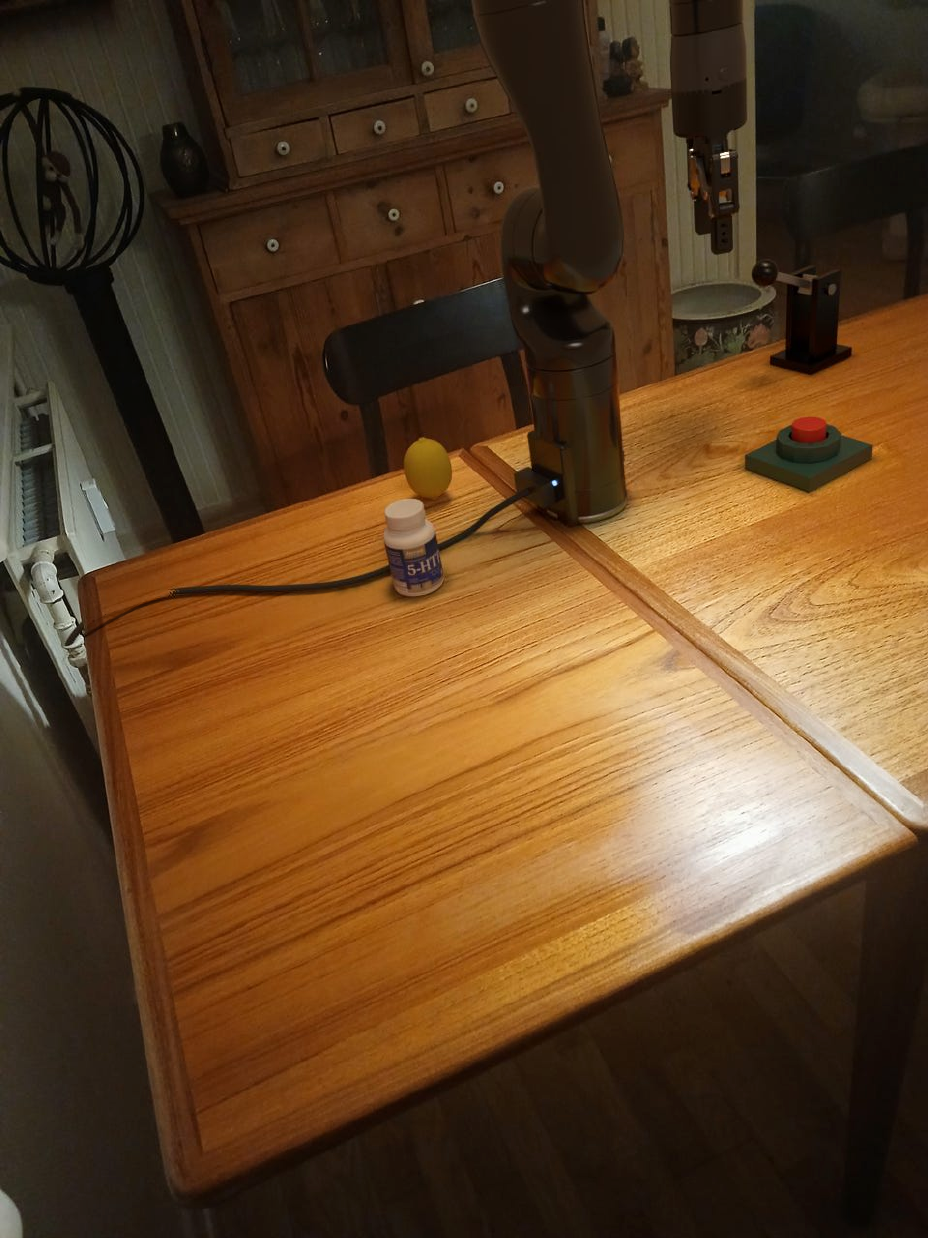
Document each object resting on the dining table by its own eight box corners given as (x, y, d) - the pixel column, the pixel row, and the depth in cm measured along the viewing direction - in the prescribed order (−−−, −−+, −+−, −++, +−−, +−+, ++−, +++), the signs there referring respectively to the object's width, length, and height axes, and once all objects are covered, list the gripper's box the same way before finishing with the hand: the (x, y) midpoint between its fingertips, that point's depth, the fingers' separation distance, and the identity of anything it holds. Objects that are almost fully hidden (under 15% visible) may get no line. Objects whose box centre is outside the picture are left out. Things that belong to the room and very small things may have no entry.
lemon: (435, 485, 117) (423, 424, 112) (466, 495, 113) (455, 433, 109) (402, 504, 114) (388, 443, 109) (433, 515, 110) (420, 452, 106)
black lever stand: (810, 374, 126) (814, 284, 119) (769, 364, 131) (771, 277, 124) (851, 355, 129) (857, 266, 122) (809, 346, 134) (813, 260, 127)
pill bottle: (415, 603, 95) (398, 526, 90) (384, 587, 99) (366, 512, 94) (455, 579, 98) (440, 503, 93) (423, 564, 101) (407, 490, 96)
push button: (810, 448, 102) (811, 433, 101) (783, 439, 105) (784, 424, 104) (833, 436, 103) (834, 421, 102) (806, 428, 106) (807, 413, 105)
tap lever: (762, 285, 117) (770, 258, 116) (743, 282, 119) (750, 255, 118) (825, 302, 124) (834, 276, 123) (806, 298, 127) (814, 273, 126)
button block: (809, 492, 101) (810, 462, 99) (744, 468, 107) (744, 439, 105) (871, 458, 104) (874, 429, 102) (805, 437, 111) (806, 409, 109)
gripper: (659, 79, 103) (668, 233, 112) (684, 95, 92) (692, 266, 101) (729, 65, 102) (732, 221, 112) (763, 79, 91) (764, 253, 100)
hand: (713, 242), depth 106 cm, fingers open, 8 cm apart
